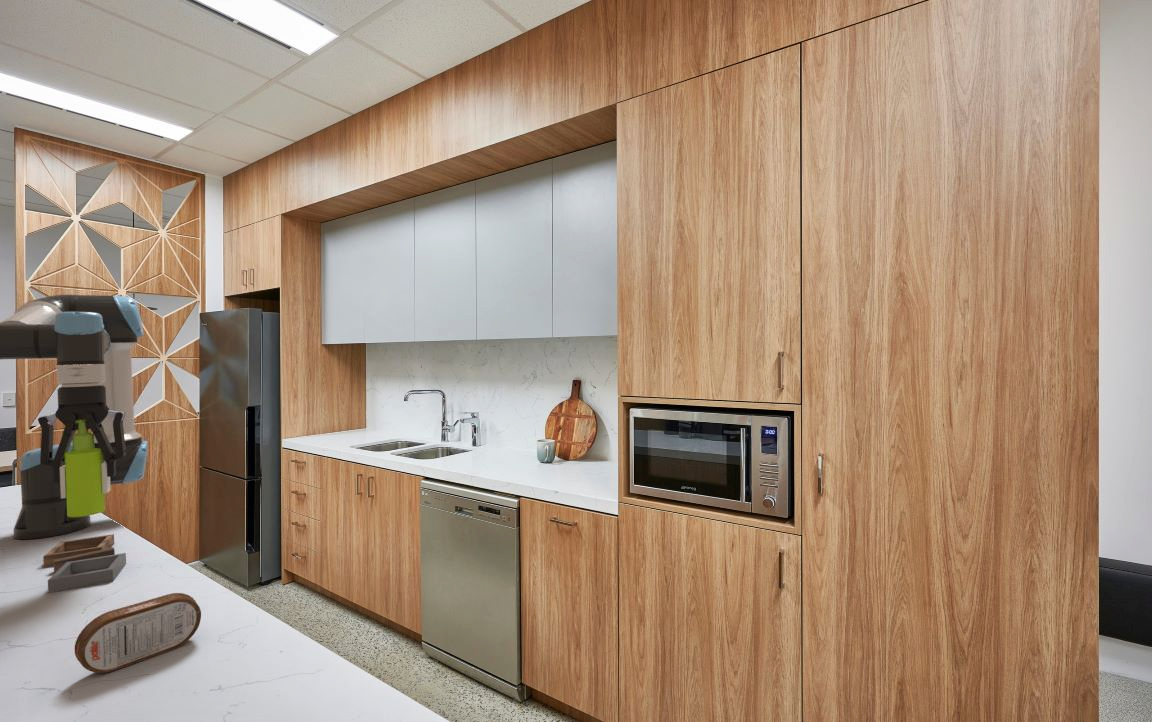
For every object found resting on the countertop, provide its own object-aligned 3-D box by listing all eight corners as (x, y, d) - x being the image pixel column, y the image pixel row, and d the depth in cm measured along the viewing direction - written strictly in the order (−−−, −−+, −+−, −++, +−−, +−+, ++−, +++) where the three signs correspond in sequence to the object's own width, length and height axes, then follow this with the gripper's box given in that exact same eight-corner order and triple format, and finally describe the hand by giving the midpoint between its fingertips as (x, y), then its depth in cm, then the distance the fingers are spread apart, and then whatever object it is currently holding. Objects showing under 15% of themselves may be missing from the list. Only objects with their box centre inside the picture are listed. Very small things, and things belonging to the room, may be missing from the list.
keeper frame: (67, 573, 117) (66, 562, 117) (126, 563, 121) (125, 552, 121) (48, 592, 107) (47, 580, 107) (113, 581, 112) (112, 569, 112)
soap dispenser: (116, 507, 117) (113, 416, 117) (85, 517, 110) (81, 420, 110) (92, 507, 118) (88, 416, 118) (59, 517, 111) (55, 420, 111)
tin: (198, 634, 89) (196, 583, 89) (204, 640, 87) (202, 588, 87) (75, 678, 77) (72, 620, 77) (79, 686, 75) (76, 627, 75)
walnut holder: (61, 552, 130) (60, 541, 130) (114, 544, 135) (113, 534, 135) (43, 567, 121) (43, 556, 121) (101, 558, 126) (101, 547, 125)
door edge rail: (53, 571, 118) (53, 560, 118) (113, 557, 125) (113, 547, 125) (54, 573, 117) (54, 562, 117) (114, 560, 124) (114, 549, 124)
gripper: (12, 388, 106) (17, 505, 106) (134, 383, 115) (138, 491, 115) (28, 386, 112) (32, 497, 113) (142, 382, 122) (146, 484, 122)
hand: (86, 494), depth 114 cm, fingers closed on soap dispenser, 6 cm apart
